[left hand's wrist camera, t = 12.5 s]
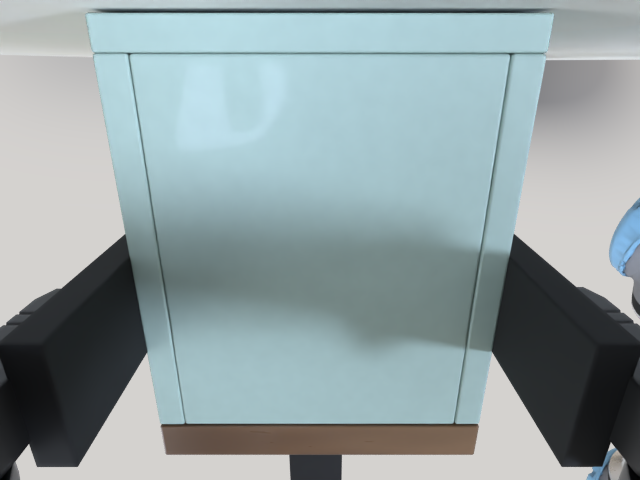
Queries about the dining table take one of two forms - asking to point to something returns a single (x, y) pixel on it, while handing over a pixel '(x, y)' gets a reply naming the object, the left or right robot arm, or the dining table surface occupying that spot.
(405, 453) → the lid
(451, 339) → the chest
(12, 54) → the dining table surface
